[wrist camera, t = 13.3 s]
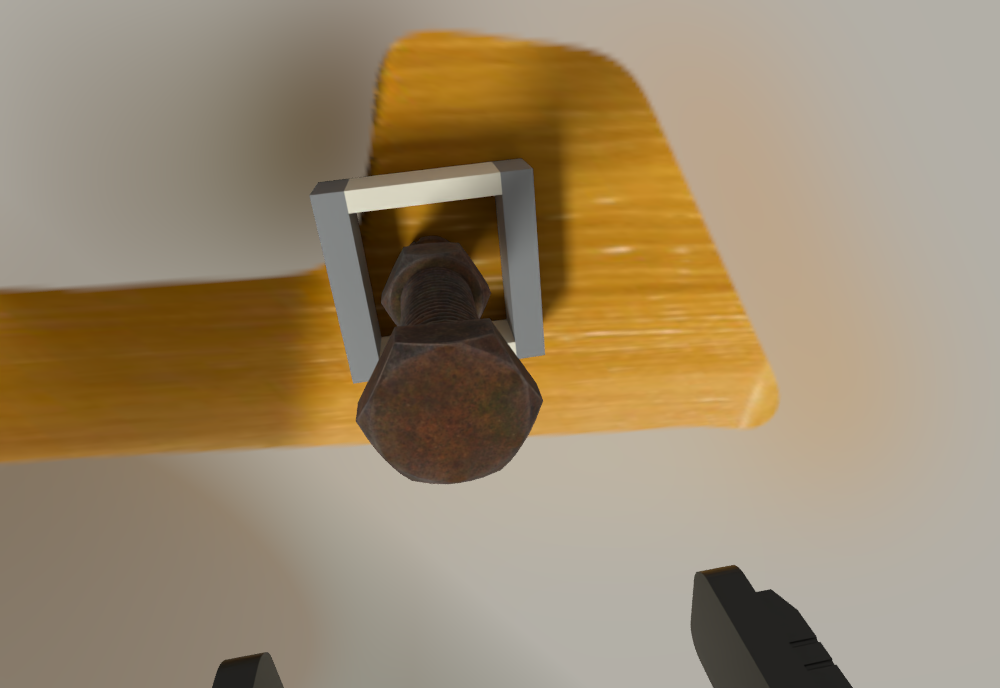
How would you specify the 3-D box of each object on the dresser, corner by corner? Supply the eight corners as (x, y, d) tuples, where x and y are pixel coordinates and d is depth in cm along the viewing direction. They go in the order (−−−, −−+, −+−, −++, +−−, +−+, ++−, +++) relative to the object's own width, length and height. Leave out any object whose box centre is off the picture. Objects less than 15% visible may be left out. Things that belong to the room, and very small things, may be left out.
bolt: (484, 211, 31) (545, 333, 17) (488, 302, 33) (546, 472, 19) (369, 219, 30) (341, 353, 17) (382, 311, 32) (366, 495, 19)
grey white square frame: (357, 356, 33) (353, 383, 30) (318, 182, 29) (309, 195, 26) (533, 331, 34) (544, 354, 31) (521, 158, 30) (532, 168, 27)
